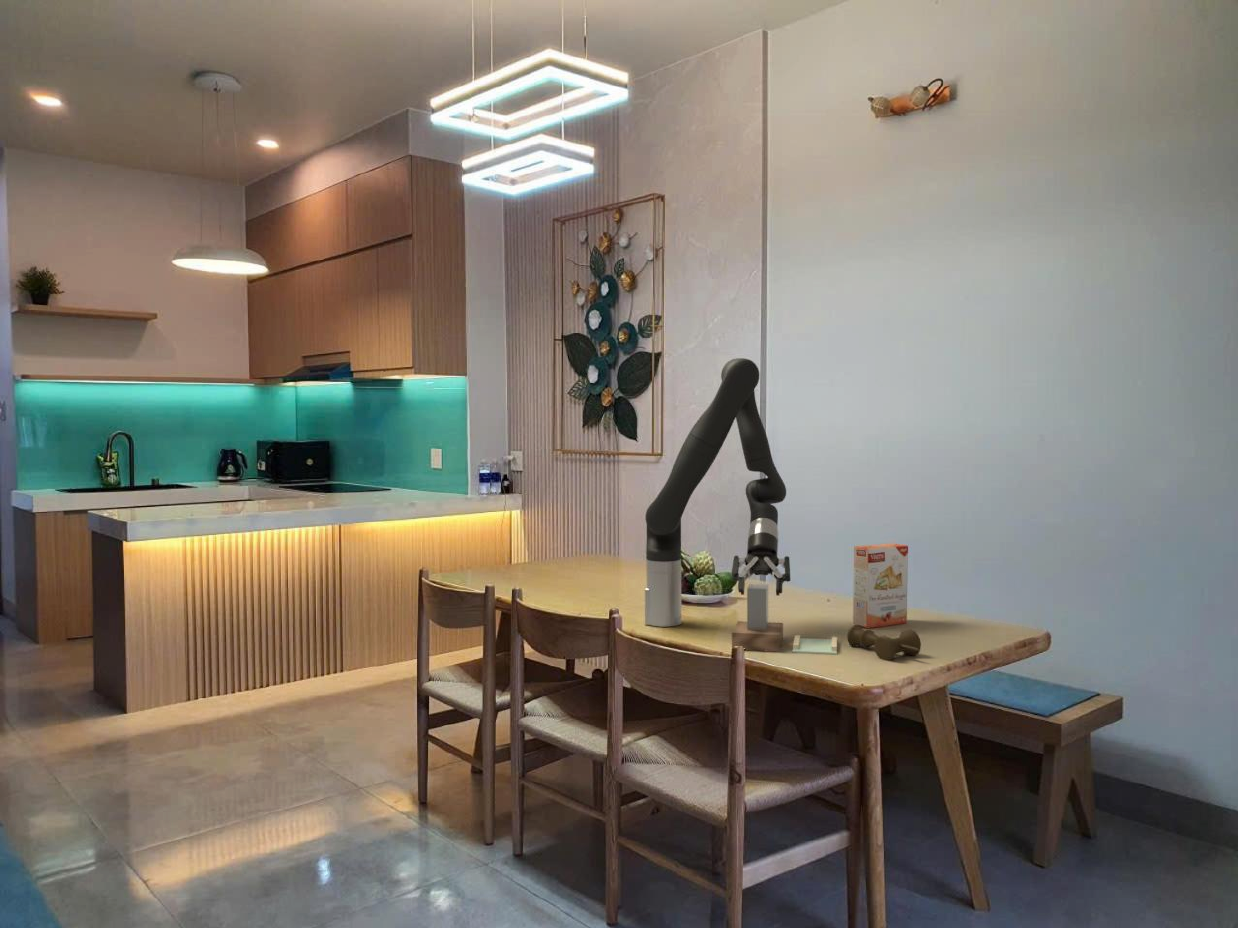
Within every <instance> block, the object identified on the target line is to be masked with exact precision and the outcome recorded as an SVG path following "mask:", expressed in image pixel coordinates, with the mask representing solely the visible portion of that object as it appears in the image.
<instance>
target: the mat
mask: <svg viewBox="0 0 1238 928" xmlns="http://www.w3.org/2000/svg"><path fill="white" fill-rule="evenodd" d="M795 652H796V653H797V654H798V653H800V654H816V653H819V654H820V655H838V637H837V636H831V638H830V639H825V638H807V637H806V638H803V637H802V638H801V635H798V634H797V635H794V638H793V643H792V653H795Z"/></svg>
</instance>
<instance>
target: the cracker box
mask: <svg viewBox="0 0 1238 928" xmlns="http://www.w3.org/2000/svg"><path fill="white" fill-rule="evenodd" d="M853 555H854V556H853V605H852V606H853V607H852V609H853V611H852V612H853V613H852V620H853V621H852V623H853V624H852V625H854V626H860V627H861V628H864V629H870V628H871V629H872V628H879V627H886V626H893V625H894V626H895V625H902V624H907V623H908V581H909V579H908V576H909V574H908V572H909V571H908V570H909V568H908V567H909V545H906V544H902V543H897V542H894V543H892V542H890V543H881V544H869V545H866V544H865V545H855V546H854V548H853Z"/></svg>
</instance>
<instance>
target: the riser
mask: <svg viewBox="0 0 1238 928" xmlns="http://www.w3.org/2000/svg"><path fill="white" fill-rule="evenodd" d="M783 641H784V623H783V622H770V621H768V628H767V631H758V630H747V621H742V620H741V621H740V620H738V621H737V623H736V625H735V626H734V628H733V630H732V632H731V649H732V648H733V647H734V646H742V647H743V648H745V649H746V650H745V651H752V650H767V651H766V652H773V651H779V652H780V650H781V648H782V644H783Z"/></svg>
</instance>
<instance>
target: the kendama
mask: <svg viewBox="0 0 1238 928" xmlns="http://www.w3.org/2000/svg"><path fill="white" fill-rule="evenodd" d="M846 638H847V643H848V644H849V646H851V647H859V646H862V647H863V648H864V649H869V648H871V647H873V646H874V652H875V654H876V656H877V657H878V658H879V659H881V660H883V661H890V660H892V659H893V658H894V657H895V655H897V654H898V653H904V654H906V655H908V656H913V657H914V656H916V655H919V653H920V652H921V648H922V642H921V639H920V637H919V634H918V633H917V632H916V631H915V630H912V629H904V630H902V631H901V632H900V634H899V636H898V637H895V638H891V637H889V636H887V635H876V634H875V632H874V631H873V630H871V629H863V627H861V626H858V625H853V626H851V627H850V628H849V629H848V632H847V635H846Z"/></svg>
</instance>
